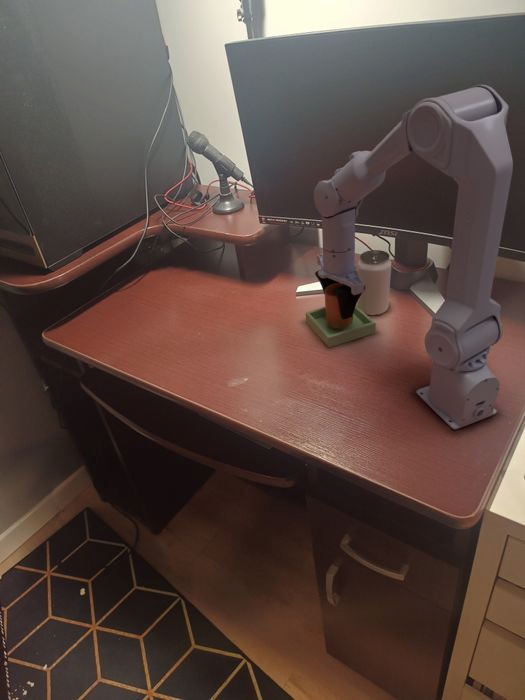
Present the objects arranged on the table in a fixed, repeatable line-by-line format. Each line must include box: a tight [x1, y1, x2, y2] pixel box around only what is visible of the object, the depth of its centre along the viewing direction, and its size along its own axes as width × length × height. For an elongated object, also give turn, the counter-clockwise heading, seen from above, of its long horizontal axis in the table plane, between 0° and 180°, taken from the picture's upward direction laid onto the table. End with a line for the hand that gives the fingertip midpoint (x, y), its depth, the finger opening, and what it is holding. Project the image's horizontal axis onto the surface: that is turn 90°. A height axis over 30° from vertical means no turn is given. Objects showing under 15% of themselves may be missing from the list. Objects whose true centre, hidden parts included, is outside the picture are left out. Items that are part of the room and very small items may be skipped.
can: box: [356, 249, 392, 316], centre depth 94 cm, size 6×6×12 cm
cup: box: [324, 283, 353, 328], centre depth 90 cm, size 5×5×7 cm
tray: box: [305, 305, 377, 348], centre depth 93 cm, size 10×10×2 cm
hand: (339, 310), depth 91 cm, fingers closed on cup, 5 cm apart
